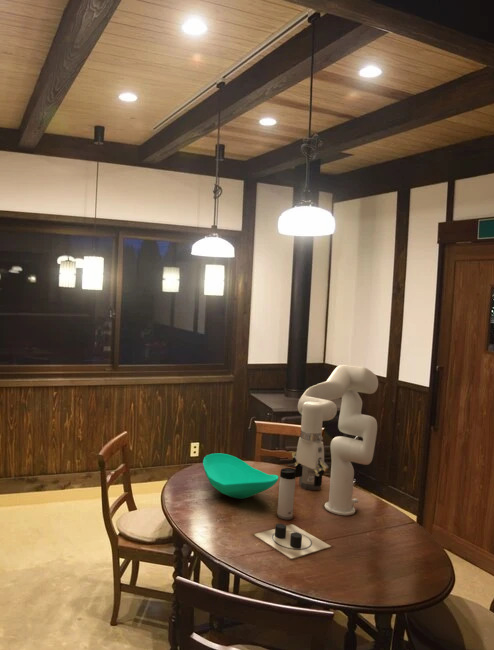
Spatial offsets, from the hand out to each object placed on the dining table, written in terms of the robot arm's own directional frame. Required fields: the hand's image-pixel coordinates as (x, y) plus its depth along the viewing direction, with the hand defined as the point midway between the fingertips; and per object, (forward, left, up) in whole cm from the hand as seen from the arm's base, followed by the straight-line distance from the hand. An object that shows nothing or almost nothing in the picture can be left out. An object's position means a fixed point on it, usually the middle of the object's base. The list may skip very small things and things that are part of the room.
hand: (307, 481), depth 198 cm
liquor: (-44, -39, -23) cm, 63 cm away
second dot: (+6, +2, -22) cm, 23 cm away
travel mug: (-9, -19, -23) cm, 31 cm away
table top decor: (-5, -45, -23) cm, 51 cm away
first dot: (+6, -6, -22) cm, 24 cm away
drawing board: (+4, -2, -23) cm, 23 cm away
